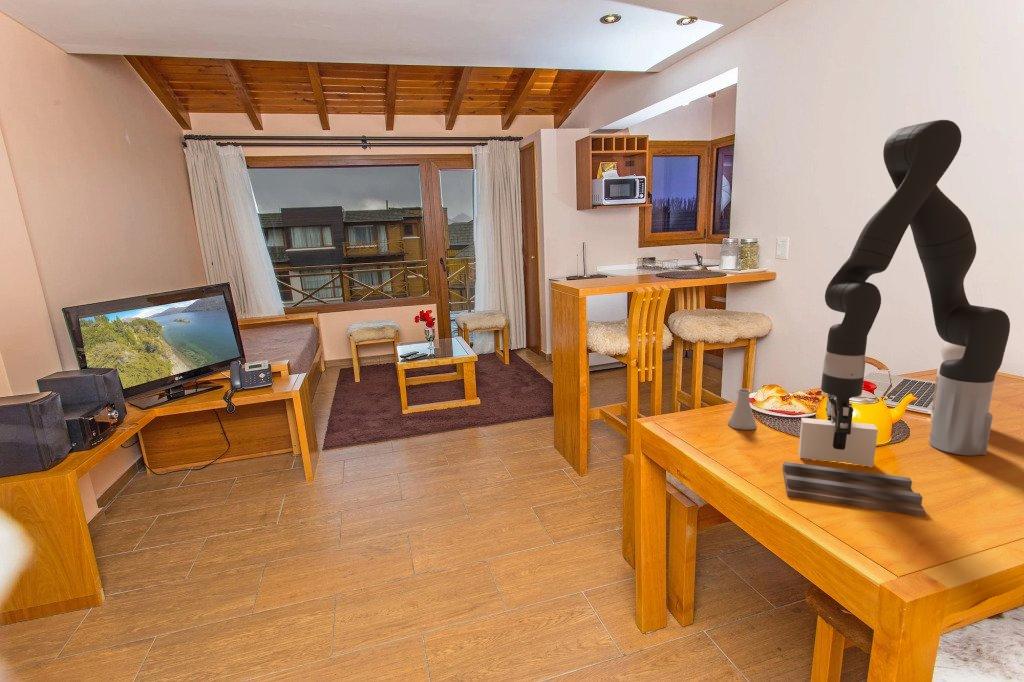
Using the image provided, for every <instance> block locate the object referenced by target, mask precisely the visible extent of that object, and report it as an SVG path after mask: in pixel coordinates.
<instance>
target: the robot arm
mask: <svg viewBox="0 0 1024 682" xmlns="http://www.w3.org/2000/svg"><path fill="white" fill-rule="evenodd" d="M962 138H963V137H962V131H961V129H960V128H959V125H958V124H957V123H955V122H954V121H953V120H949V119H937V120H930V121H926V122H921V123H918V124H912V125H910V126H909V125H908V126H904V127H900V128H898V129H896V130H895V131H892V132H891V134H890V135H889V136H887V139H886V140H885V143H884V146H883V149H882V150H883V152H882V153H883V154H882V155H883V162H884V165H885V168H886V170H887V172H888V174H889V176H890V178H891V181H892V183H893V185H894V188H895V189H896V190H895V192H894V193H893V194H892V195H891V196H890V198H889V199H888V200H886V202H885V203H884V204H883V205H882V206H881V207H880V208H879V209H878V210H877V211H876V212H875V213H874V214H873V215H872V216H871V218H870V219H869V220H868V221H867V222H866V224H865V225H864V227H863V229H862V231H861V232H860V234H859V236H858V238H857V241H856V242H855V244H854V247H853V249H852V251H851V253H850V256H849V257H848V259H847V260H846V261H845V262H844V263H843V264H842V266H840V268H839V269H838V271H837V272H836V273H835V274H834V276H833V277H832V278H831V280H830V281H829V282H828V284H827V287H826V290H825V294H824V302H825V305H826V306H827V307H828V309H830V310H832V311H835V312H839V313H843V314H844V317H843V319H842V321H841V323H836V324H833V325H831V326H830V328H829V330H828V334H827V340H826V342H827V343H826V351H825V355H824V358H823V365H822V374H821V375H822V377H821V384H820V386H821V387H820V389H821V391H822V393H825V394H827V399H826V407H825V411H826V417H827V420H831V421H832V422H833V423H834V438H833V448H834V449H840V450H844V449H845V445H846V437H847V434H848V435H850V433H851V424H852V421H853V412H854V407H853V406H852V405H853V404H852V403H850V399H852V398H857V397H860V396H861V395H862V393H863V385H864V379H865V369H866V351H867V342H868V335H869V333H870V331H871V330H872V327H873V325H874V322H875V320H876V318H877V316H878V314H879V312H880V309H881V305H882V296H881V292H880V289H879V288H878V287H877V286H876V284H874V283H871V282H868V281H867V280H868V279H869V278H870V277H871V276H873V275H875V274H880V273H883V272H885V271H886V270H887V269H888V267H889V266H890V263H891V262H892V260H893V258H894V255H895V254H896V251H897V249H898V247H899V245H900V243H901V241H902V239H903V236H904V235H905V233H906V231H907V229H908V228H909V226H910V229H911V232H912V237H913V241H914V245H915V247H916V251H917V254H918V257H919V259H920V263H921V265H922V269H923V273H924V275H925V279H926V280H925V281H926V283H927V286H928V291H929V295H930V301H931V308H932V313H933V320H934V326H935V329H936V332H937V334H938V336H939V338H940V339H942V340H943V341H944V342H948V343H951V344H955V345H959V346H964V347H966V348H965V352H964V355H963V357H962V358H961V359H953V360H946V361H944V362H942V361H941V362H942V364H941V366H940V372H939V378H938V386H937V392H936V399H935V406H934V412H933V419H931V420H932V421H931V427H930V432H929V440H928V441H929V444H930V445H931V446H932V447H933V448H935V449H937V450H939V451H943V452H944V453H945V452H946V453H949V454H954V455H958V456H959V455H960V456H970V457H971V456H979V455H982V456H983V455H984V456H987V450H988V447H989V446H988V445H989V441H990V439H989V438H990V434H991V428H992V423H993V418H994V417H993V414H992V413H991V412H990V407H991V402H992V398H993V397H992V396H993V391H994V385H995V379H996V375H997V373H998V371H999V370H1000V368H1001V366H1002V363H1003V359H1004V356H1005V351H1006V348H1007V343H1008V340H1009V335H1010V331H1011V321H1010V317H1009V316H1008V314H1007V312H1005V311H1003V310H1001V309H999V308H998V309H997V308H995V307H994V308H993V307H987V306H986V307H985V306H980V305H979V306H978V305H973V304H970V302H969V300H968V298H967V294H966V291H965V287H964V286H965V284H964V282H965V278H966V275H967V273H968V272H969V270H970V268H971V266H972V264H973V263H974V261H975V258H976V255H977V243H976V239H975V236H974V231H973V227H972V224H971V222H970V220H969V218H968V216H967V215H966V213H964V212H963V211H962V209H961V208H960V207H959V206H958V205H956V204H955V203H954V202H953V201H952V200H951V199H950V198H949V197H948V196H947V195H946V194H945V193H944V192H943V191H942V189H940V188H939V187H938V183H939V181H940V180H941V179H942V177H943V176H944V174H945V173H946V172H947V170H948V169H949V167H950V166H951V164H952V163H953V161H954V159H955V158H956V156H957V154H958V152H959V150H960V149H961V148H960V147H961V144H962ZM841 423H842V424H844V425H845V428H840V424H841Z"/></svg>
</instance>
